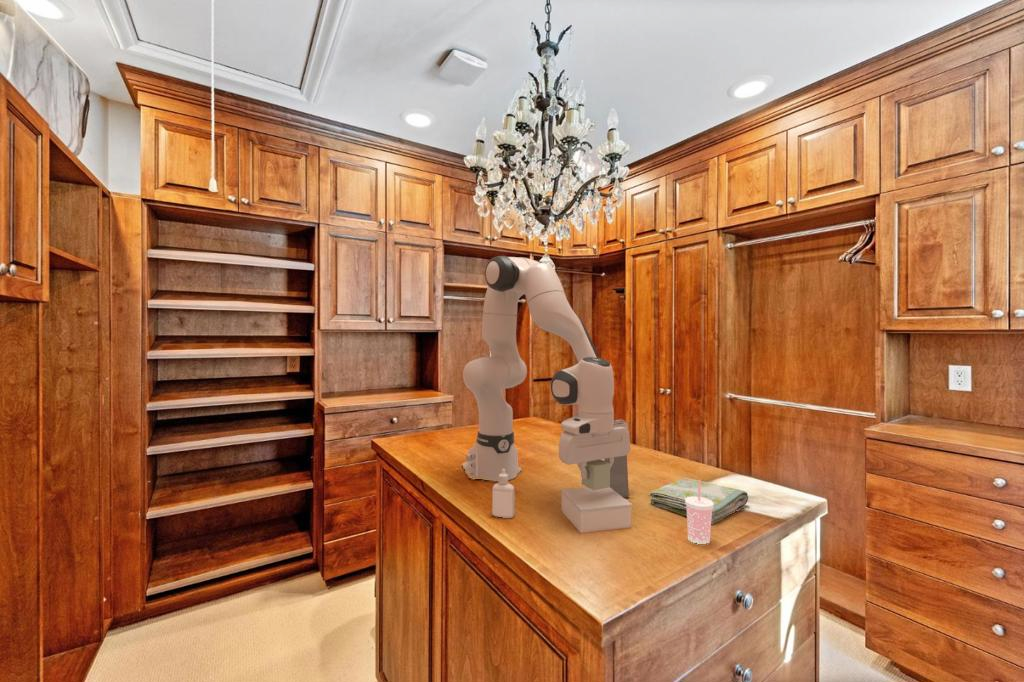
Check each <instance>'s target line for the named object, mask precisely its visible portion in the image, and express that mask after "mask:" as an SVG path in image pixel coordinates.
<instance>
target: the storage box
mask: <svg viewBox="0 0 1024 682" xmlns="http://www.w3.org/2000/svg"><path fill="white" fill-rule="evenodd" d="M560 493H561V512H562V513H563V515H565V517H566V518H567V519H568V520H569V521H570V522H571V524H573V526H574V527H575V528H576V529H577V530H578V531H579V533H580V534H583V533H592V532H600V531H610V530H617V529H628V528H632V508H633V504H632V503H631V502H630V501H629V500H627V499H626V497H622V496H621V495H619V494H618V493H617V492H615V491H614V490H613V489H611V488H610V487H608V488H603V489H598V490H592V489H590V488H588V487H586V486H585V487H575V488H564V489H560Z"/></svg>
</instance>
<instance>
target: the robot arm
mask: <svg viewBox="0 0 1024 682" xmlns="http://www.w3.org/2000/svg"><path fill="white" fill-rule="evenodd" d="M484 279H485V282H486V284H487V287H486V288H487V289H486V292H485V296H484V301H483V311H482V313H483V314H482V322H481V323H482V326H481V327H482V328H481V337H482V339H483V341H484V342H485V343H487V345H488V347H489V353H490V356H484V357H478V358H476V359H473V360H471V361H469V362H467V363H466V364H465V365H464V368H463V371H462V378H463V379H462V380H463V383H464V385H465V386H466V388H467V389H469V390H470V391H471V393H472V394H473V395H474V396H473V397H474V399H475V400H476V404H477V408H478V409H477V410H478V431H477V435H476V443H475V444H474V445H473V446H472V447H471V448H470V449H469V451H468V453H466V455H465V458H466V461H464V462H463V463H461V466H462V465H463V467H464V469H465V470H466V472H467V474H468V476H469V477H472V478H481V479H486V480H494V481H493V482H499V474H501V473H502V469H505V473H506V474H508V481H510V480H514V479H515V478H517V476H518V475H519V474H520V473H521V472H522V467H520V466H519V459H518V457H519V456H518V455H519V454H518V448H517V446H516V445H515V444H514V443H515V432H514V431H513V426H514V425H513V423H514V421H513V419H514V416H513V415H514V411H513V407H512V405H510V404H509V403H508V402H507V401H506V399H505V395H504V390H506V389H512V388H515V387H517V386H518V385H520V384H522V383H523V382H524V381H525V380H526V378H527V375H528V369H527V364H526V363H525V361H524V360H523V358H521V356H520V353H519V349H518V344H517V322H518V320H517V319H518V303H519V300H520V298H521V297H522V296H524V297H525V299H526V304H527V307H528V311H529V315H530V317H531V319H532V321H533V322H534V324H535V325H536V326H537V327H538V328H540V329H541V330H542V331H543V330H544V331H546V332H549V333H551V334H554V335H556V336H558V337H560V338H562V339H563V340H565V342H567V343H568V344H569V346H570V347H571V349H572V351H573V353H574V355H575V358H576V360H577V362H578V363H576V364H575V365H572V366H570V367H568V368H564V369H560V370H558V371H556V372H555V373H554V375H553V376H552V378H551V381H550V392H551V395H552V397H553V399H554V400H555V401H556V402H557V403H558V404H559V405H565V406H571V405H577V406H578V411H577V412H578V413H577V414H575V415H573V416H571V417H569V418H567V419H564V420H563V421H562V422H561V424H560V429H561V430H563V431H562V432H561V434H560V436H559V443H558V459H560V461H561V463H564V464H566V465H569V466H570V465H574V464H575V465H577V467H578V469H579V471H580V478H581V480H582V479H589V478H590V476H589V475H590V472H589V471H586V469H585V466H586V463H587V462H589V461H595V460H604V459H605V460H606V462H608V463H610V468H611V466H612V464H613V462H614V457H619V456H625V455H627V456H628V455H629V454H630V452H631V442H630V441H631V439H630V434H629V433H630V432H629V424H628V423H627V421H626V420H624V419H623V418H620V419H615V410H614V405H613V399H614V396H615V379H614V370H613V367H612V364H611V362H610V361H608V360H607V359H604V358H600V356H599V355H598V352H597V350H596V347H595V345H594V343H593V341H592V338H591V337H590V334H589V332H588V329H587V328H586V326H585V324H584V323H583V321H582V319H581V318H580V317H579V316H578V315H577V314H576V313H575V311H574V310H573V308H572V306H571V305H570V303H569V301H568V298H567V295H566V293H565V290H564V287H563V284H562V282H561V280H560V277H559V276H558V273H557V272H556V271H555V268H554V267H553V266H552V265H551V264H549V263H547V262H542V261H540V260H536V259H535V260H534V259H531V258H528V257H522V256H520V257H519V256H518V257H516V256H507V255H498V256H494V257H492V258H490V260H489V261H488V262H487V264H486V266H485V270H484ZM464 469H463V470H464ZM520 471H521V472H520ZM517 474H518V475H517ZM468 476H467V477H468Z"/></svg>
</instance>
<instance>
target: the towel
mask: <svg viewBox="0 0 1024 682" xmlns="http://www.w3.org/2000/svg"><path fill="white" fill-rule="evenodd" d="M648 496H649V498H650V504H651V505H653V506H655V507H657V508H661V509H664V510H667V511H671V512H674V513H677V514H679V515H682V516H686V517H687V508H686V504H685V498H687V497H698V480H697V479H692V478H688V477H684V478H681V479H678V480H677V481H674V482H671V483H668V484H666V485H663V486H661V487H659V488H656V489H655V490H653V491H651V492H650V493H649V495H648ZM700 497H703V498H707V499H709V500H711V501H712V502H713V503H714V506H713V507H714V508H713V509H712V519H711V524H712V525H714V524H716V523H715V522H717V521H719V520H721V519H722V520H724V519H725V518H724V517H726V516H728V515H729V514H731V513H733V512H734V511H736V510H739V509H741V508H742V509H744V507H745V506H746V505H747V503H748V501H749V496H748V492H747V491H745V490H741V489H739V488H735V487H729V486H724V485H721V484H716V483H710V482H707V481H703V480H702V481H701V492H700ZM742 509H741V510H742ZM739 511H740V510H739ZM728 517H729V516H728ZM723 518H724V519H723ZM726 518H727V517H726ZM722 520H721V521H722ZM719 522H720V521H719ZM713 523H714V524H713ZM717 523H718V522H717Z"/></svg>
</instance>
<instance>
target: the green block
mask: <svg viewBox="0 0 1024 682" xmlns="http://www.w3.org/2000/svg"><path fill="white" fill-rule="evenodd" d="M585 469H586V471H589V472H590V475H589V476H590V478H589V479H582V478H581V485H583V486H585V487H588V488H590V489H592V490H598V489H603V488H608V487H610V463H608V462H605V461H604V459H601V460H595V461H589V462H587V463H586V466H585Z"/></svg>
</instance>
